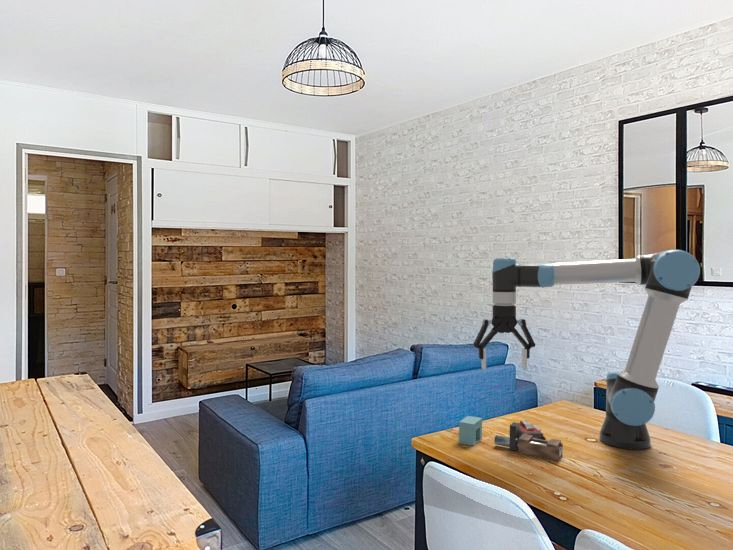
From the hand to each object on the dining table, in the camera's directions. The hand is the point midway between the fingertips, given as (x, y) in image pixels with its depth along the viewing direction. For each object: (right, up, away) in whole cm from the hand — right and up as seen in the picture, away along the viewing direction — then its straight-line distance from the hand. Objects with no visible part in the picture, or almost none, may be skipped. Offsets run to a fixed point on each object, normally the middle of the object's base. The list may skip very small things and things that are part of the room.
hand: (504, 368), depth 176 cm
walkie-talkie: (+10, -25, +9) cm, 28 cm away
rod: (+5, -24, -10) cm, 26 cm away
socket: (-11, -24, 0) cm, 26 cm away
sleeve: (+8, -24, -12) cm, 28 cm away
